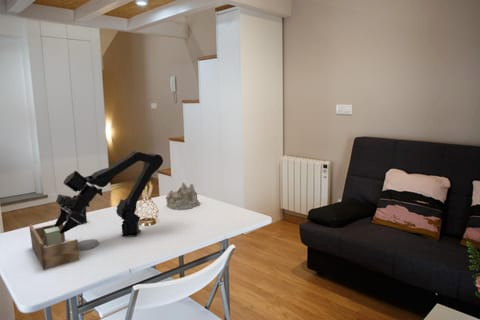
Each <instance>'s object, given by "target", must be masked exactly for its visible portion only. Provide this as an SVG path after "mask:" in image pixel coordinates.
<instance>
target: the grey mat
mask: <svg viewBox="0 0 480 320" xmlns="http://www.w3.org/2000/svg"><path fill="white" fill-rule="evenodd" d="M99 245H100V241H99V240H98V239H85V240H80V241H78V248H79V251H88V250H92V249H95V248H96V247H98V246H99Z"/></svg>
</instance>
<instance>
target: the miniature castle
mask: <svg viewBox="0 0 480 320" xmlns="http://www.w3.org/2000/svg"><path fill="white" fill-rule="evenodd" d="M189 185H190V186H189V187H187V185H186V183H185V182H182V183H181V187H179V188H178V190H177V191H173V190H172V189H170V190H169V191H170V192H168V193H167V195H166V196H165V200H166V207H167V208H168V209H171V210H175V211H186V210H187V211H188V210H191V209H193V208H197V207H199V206H200V200H198V193H197V192H196V190H195V186H194V184H193V183H190V184H189Z"/></svg>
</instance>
